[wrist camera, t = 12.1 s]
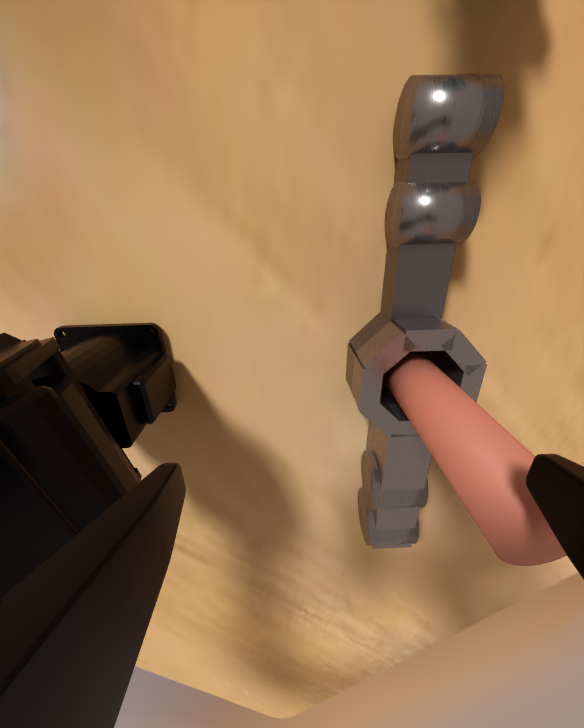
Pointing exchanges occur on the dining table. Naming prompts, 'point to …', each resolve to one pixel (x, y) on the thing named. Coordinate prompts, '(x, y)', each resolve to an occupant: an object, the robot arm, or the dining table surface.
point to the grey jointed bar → (419, 288)
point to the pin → (475, 460)
